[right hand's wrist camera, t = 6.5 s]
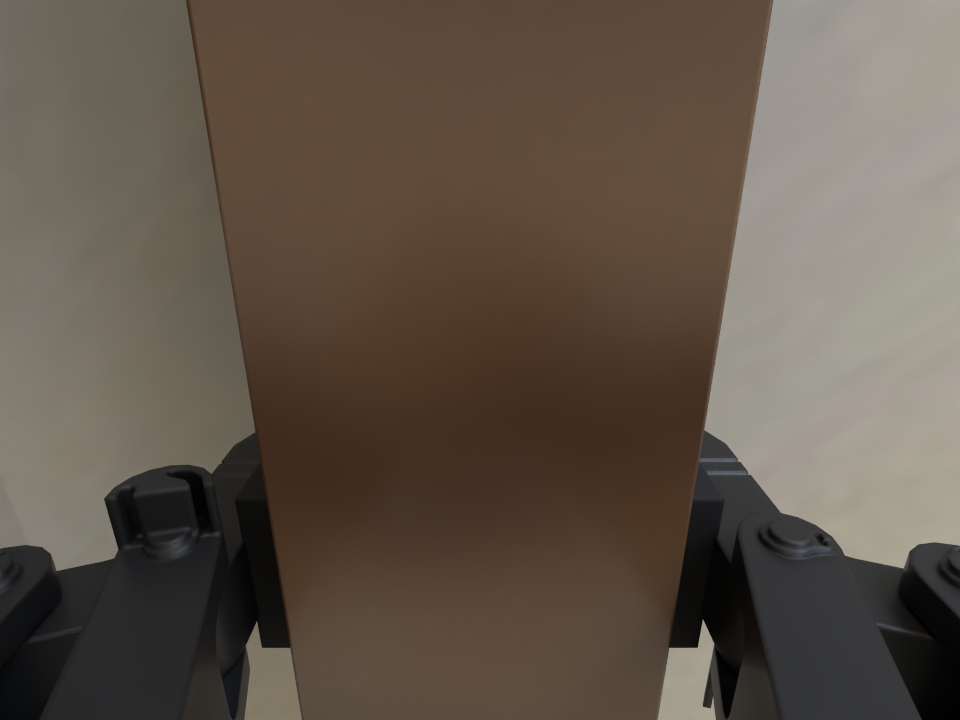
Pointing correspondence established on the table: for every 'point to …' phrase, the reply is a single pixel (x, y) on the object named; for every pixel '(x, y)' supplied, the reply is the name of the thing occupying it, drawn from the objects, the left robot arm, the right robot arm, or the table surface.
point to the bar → (479, 330)
